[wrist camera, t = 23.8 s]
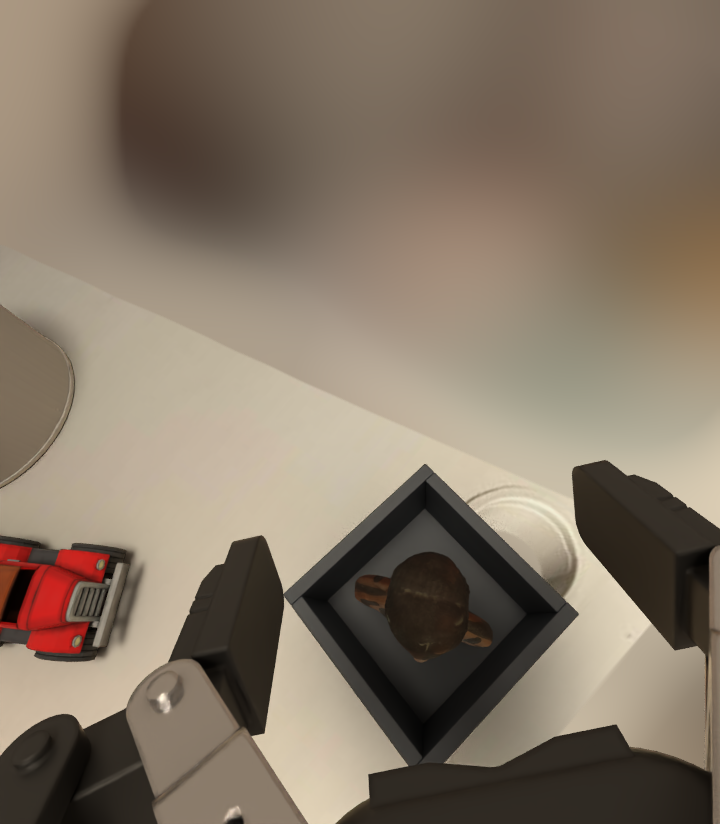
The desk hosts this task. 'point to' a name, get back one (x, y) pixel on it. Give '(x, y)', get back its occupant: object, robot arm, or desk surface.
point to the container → (29, 394)
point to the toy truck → (59, 597)
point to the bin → (451, 672)
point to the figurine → (425, 606)
